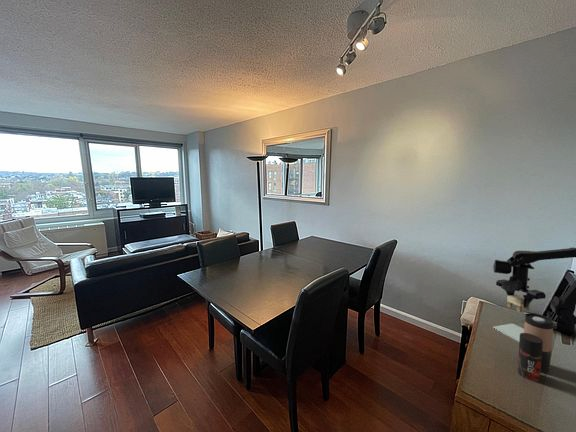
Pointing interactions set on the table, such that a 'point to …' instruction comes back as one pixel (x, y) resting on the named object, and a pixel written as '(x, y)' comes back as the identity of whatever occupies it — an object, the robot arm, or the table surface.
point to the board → (510, 330)
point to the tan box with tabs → (516, 302)
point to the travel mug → (541, 335)
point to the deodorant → (530, 356)
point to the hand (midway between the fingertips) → (518, 304)
